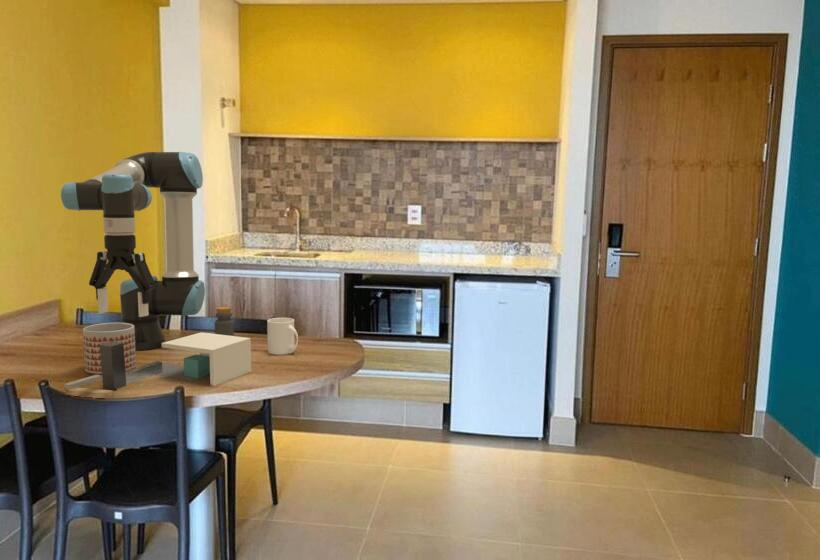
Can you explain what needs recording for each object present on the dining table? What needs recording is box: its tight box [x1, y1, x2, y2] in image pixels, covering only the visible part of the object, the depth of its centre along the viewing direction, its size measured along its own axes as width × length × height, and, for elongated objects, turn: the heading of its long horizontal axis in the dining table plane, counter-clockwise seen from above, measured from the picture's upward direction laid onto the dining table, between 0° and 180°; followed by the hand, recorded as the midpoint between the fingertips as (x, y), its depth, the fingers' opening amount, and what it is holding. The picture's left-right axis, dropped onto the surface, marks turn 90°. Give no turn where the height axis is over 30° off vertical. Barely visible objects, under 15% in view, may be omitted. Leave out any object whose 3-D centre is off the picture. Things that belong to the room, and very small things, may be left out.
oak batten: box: [65, 387, 114, 399], centre depth 168 cm, size 12×2×2 cm, turn 77°
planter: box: [82, 322, 137, 376], centre depth 193 cm, size 14×14×13 cm
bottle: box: [214, 306, 235, 336], centre depth 213 cm, size 6×6×15 cm
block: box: [183, 354, 210, 378], centre depth 187 cm, size 5×5×5 cm
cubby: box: [161, 331, 252, 387], centre depth 187 cm, size 18×16×10 cm
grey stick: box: [64, 375, 103, 390], centre depth 179 cm, size 2×10×2 cm, turn 156°
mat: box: [155, 362, 210, 382], centre depth 191 cm, size 22×11×1 cm, turn 66°
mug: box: [266, 317, 299, 356], centre depth 215 cm, size 9×12×11 cm
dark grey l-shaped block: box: [100, 341, 163, 392], centre depth 181 cm, size 4×18×12 cm, turn 156°
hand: (123, 314), depth 175 cm, fingers open, 13 cm apart
